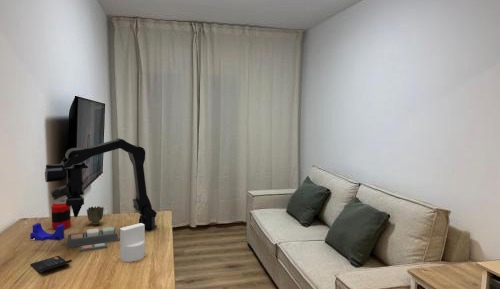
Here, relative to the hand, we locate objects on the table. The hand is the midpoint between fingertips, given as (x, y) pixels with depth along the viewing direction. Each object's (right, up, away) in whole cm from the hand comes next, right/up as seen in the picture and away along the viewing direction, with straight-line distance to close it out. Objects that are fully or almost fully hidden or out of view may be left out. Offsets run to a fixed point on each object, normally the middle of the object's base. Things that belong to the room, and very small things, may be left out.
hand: (75, 216), depth 136 cm
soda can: (-16, -9, +18) cm, 26 cm away
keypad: (+5, -11, +4) cm, 13 cm away
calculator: (+1, -14, -18) cm, 23 cm away
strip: (+9, -12, -3) cm, 15 cm away
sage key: (+11, -9, +7) cm, 15 cm away
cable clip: (-15, -11, +5) cm, 19 cm away
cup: (-3, -9, +23) cm, 25 cm away
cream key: (+5, -9, +4) cm, 11 cm away
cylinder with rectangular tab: (+27, -14, -9) cm, 31 cm away
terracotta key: (0, -11, +1) cm, 11 cm away
